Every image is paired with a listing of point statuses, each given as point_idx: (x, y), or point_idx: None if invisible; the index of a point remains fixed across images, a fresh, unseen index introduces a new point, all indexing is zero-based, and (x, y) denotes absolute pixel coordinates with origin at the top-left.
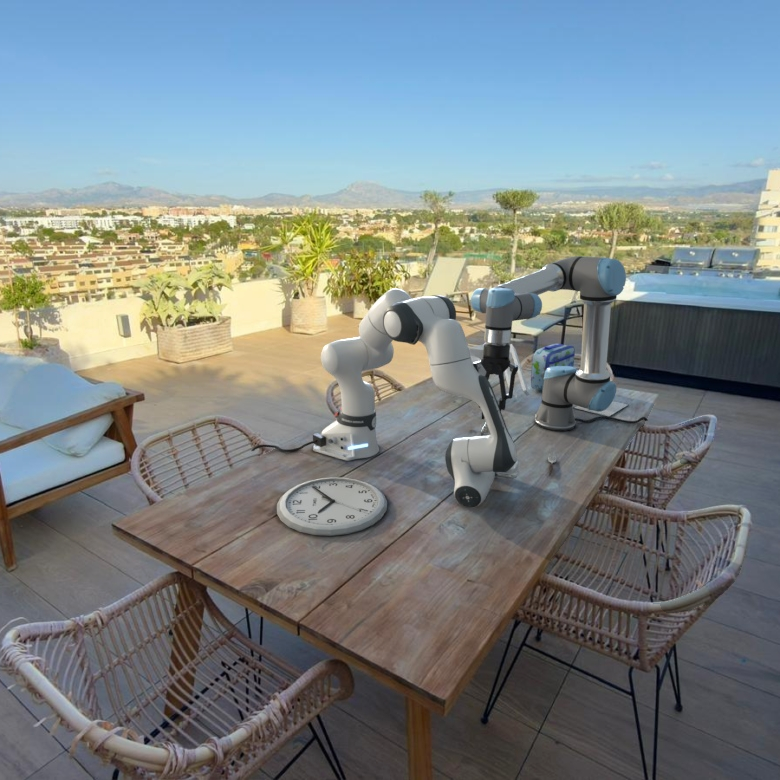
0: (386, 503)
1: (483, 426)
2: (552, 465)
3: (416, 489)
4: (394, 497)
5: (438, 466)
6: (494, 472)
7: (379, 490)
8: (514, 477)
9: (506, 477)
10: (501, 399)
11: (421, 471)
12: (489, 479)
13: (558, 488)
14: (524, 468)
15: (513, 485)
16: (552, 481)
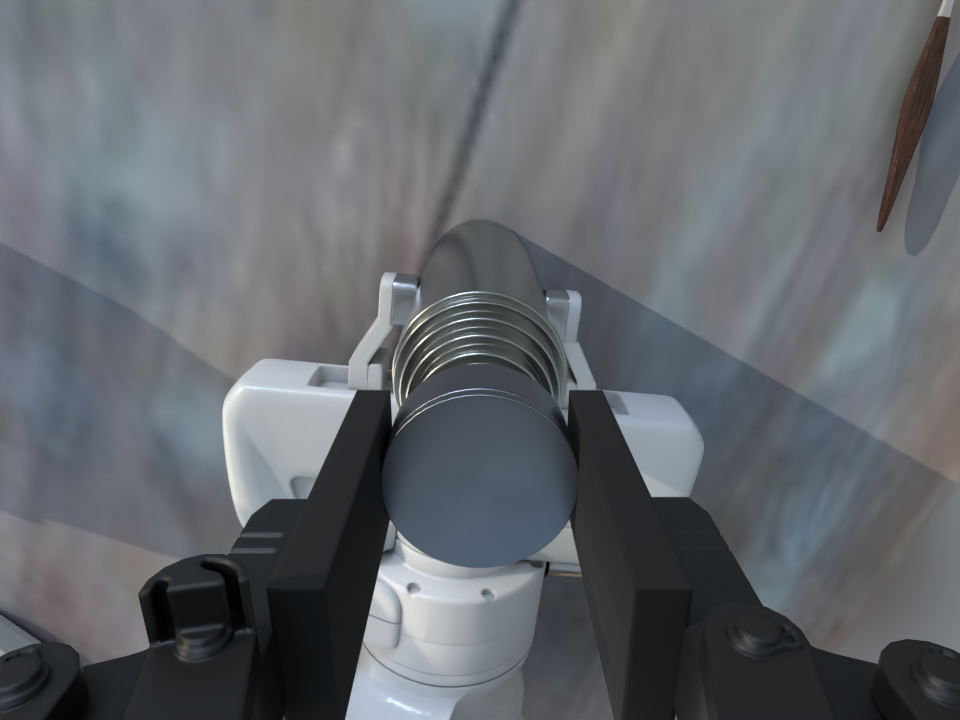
0: None
1: (403, 395)
2: (941, 59)
3: (161, 555)
4: (100, 640)
5: (172, 271)
6: (540, 595)
7: (9, 635)
8: None
9: None
10: (669, 686)
11: (103, 367)
12: (517, 689)
13: (889, 353)
14: (726, 130)
15: (638, 387)
16: (876, 275)
